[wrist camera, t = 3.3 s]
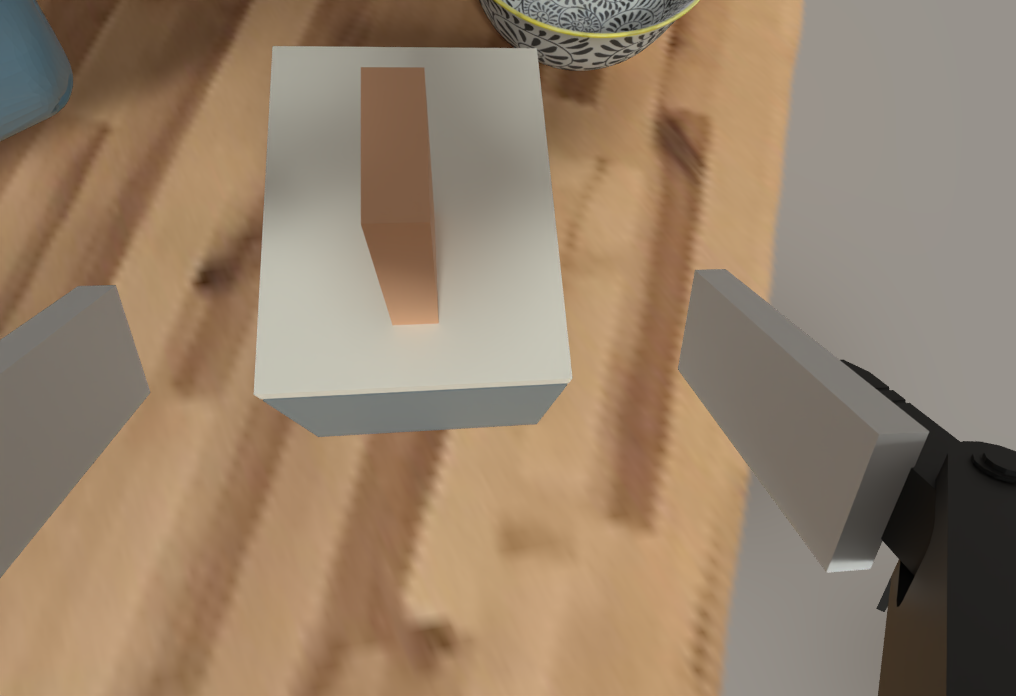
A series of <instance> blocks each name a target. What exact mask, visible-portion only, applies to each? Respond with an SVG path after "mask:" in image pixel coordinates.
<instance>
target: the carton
mask: <svg viewBox="0 0 1016 696" xmlns="http://www.w3.org/2000/svg"><path fill="white" fill-rule="evenodd" d="M566 386H567V383H563V384H544V385H525V386H505V387H486V388H467V389H447V390H428V391H409V392H389V393H370V394H351V395H331V396H312V397H293V398H273V399H263V401H264V402H266V403H267V404H269V405H270V406H272V407H273V408H275V409H276V410H278V411H280V412H281V413H283V414H284V415H286V416H287V417H289V418H290V419H292V420H293V421H295V422H296V423H298V424H299V425H301V426H302V427H304V428H305V429H307V430H309V431H310V432H312V433H313V434H315V435H316V436H318V437H325V436H342V435H359V434H376V433H393V432H410V431H427V430H444V429H461V428H478V427H495V426H512V425H529V424H537V423H538V422H539V420H540V419H541V418H542V416H543V415H544V414H545V413H546V411H547V410H548V409H549V408H550V406H551V405H552V404H553V402H554V401H555V400H556V399H557V397H558V396H559V395H560V394H561V392H562V391H563V390H564V388H565V387H566Z"/></svg>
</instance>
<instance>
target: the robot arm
mask: <svg viewBox="0 0 1016 696" xmlns="http://www.w3.org/2000/svg"><path fill="white" fill-rule="evenodd" d="M72 87H73V74H72V69H71V66H70V63H69V60H68V58H67V56H66V54H65V52H64V50H63V48H62V46H61V44H60V42H59V40H58V39H57V37H56V35H55V33H54V31H53V30H52V28H51V26H50V24H49V22H48V21H47V19H46V17H45V15H44V14H43V12H42V10H41V8H40V7H39V5H38V3H37V1H36V0H0V141H2V140H4V139H6V138H8V137H10V136H13V135H15V134H17V133H19V132H21V131H23V130H25V129H27V128H29V127H31V126H33V125H35V124H37V123H39V122H41V121H44V120H46V119H48V118H50V117H52V116H53V115H55V114H56V113H58V112H59V111H60V110H61V109H62V108H63V107H64V106H65V105H66V103H67V102H68V100H69V98H70V96H71V93H72ZM678 370H679V371H680V373H681V374H682V376H683V377H684V378H685V380H686V381H687V382H688V384H689V385H690V387H691V388H692V389H693V391H694V392H695V393H696V395H697V396H698V397H699V399H700V400H701V402H702V403H703V404H704V406H705V407H706V408H707V410H708V411H709V412H710V414H711V415H712V417H713V418H714V419H715V421H716V422H717V423H718V425H719V426H720V428H721V429H722V430H723V432H724V433H725V434H726V436H727V437H728V438H729V440H730V441H731V443H732V444H733V445H734V447H735V448H736V449H737V451H738V452H739V454H740V455H741V456H742V458H743V459H744V460H745V462H746V463H747V464H748V466H749V467H750V469H751V470H752V471H753V473H754V474H755V475H756V477H757V478H758V479H759V481H760V482H761V484H762V485H763V486H764V488H765V489H766V490H767V492H768V493H769V494H770V496H771V497H772V499H773V500H774V501H775V503H776V504H777V505H778V507H779V508H780V510H781V511H782V512H783V514H784V515H785V516H786V518H787V519H788V520H789V522H790V523H791V525H792V526H793V527H794V529H795V530H796V531H797V533H798V534H799V536H800V537H801V538H802V540H803V541H804V542H805V544H806V545H807V547H808V548H809V549H810V551H811V552H812V553H813V555H814V556H815V557H816V559H817V560H818V561H819V563H820V564H821V566H822V567H823V568H824V570H825V571H826V572H838V571H851V570H863V569H870V568H871V566H872V564H873V562H874V559H875V557H876V555H877V552H878V550H879V548H880V545H881V543H882V541H883V542H884V543H885V544H886V545H887V546H888V547H889V548H890V549H891V550H892V552H893V553H894V554H895V555H896V556H897V557H898V558H899V561H898V563H897V565H896V567H895V569H894V572H893V574H892V576H891V578H890V580H889V583H888V585H887V587H886V589H885V591H884V593H883V596H882V598H881V600H880V602H879V604H878V606H877V609H878V610H881V611H883V612H885V610H886V608H887V607H888V611H887V620H886V629H885V638H884V646H883V647H884V648H883V656H882V665H881V673H880V682H879V691H878V696H1016V451H1013V450H1010V449H1007V448H1005V447H1002V446H999V445H994V444H989V443H984V442H973V441H971V442H970V441H963V442H960V441H958V440H957V439H956V438H955V437H953V436H952V435H951V434H949V433H948V432H947V431H945V430H944V429H943V428H941V427H940V426H939V425H938V424H936V423H935V422H934V421H932V420H931V419H930V418H929V417H927V416H926V415H925V414H923V413H922V412H921V411H919V410H918V409H917V408H915V407H914V406H913V405H911V404H910V403H906V402H905V399H904V398H903V397H901V396H900V395H899V394H897V393H896V392H895V391H893V390H889V387H888V386H887V385H886V384H884V383H883V382H882V381H880V380H879V379H878V378H876V377H875V376H874V375H873V374H871V373H870V372H868V371H866V370H864V369H862V368H860V367H858V366H855V365H853V364H851V363H849V362H847V361H845V360H839V359H838V358H836V357H835V356H834V355H833V354H831V353H830V352H829V351H828V350H826V349H825V348H824V347H823V346H821V345H820V344H819V343H818V342H816V341H815V340H814V339H813V338H811V337H810V336H809V335H807V334H806V333H805V332H804V331H802V330H801V329H800V328H799V327H797V326H796V325H795V324H794V323H792V322H791V321H790V320H789V319H787V318H786V317H785V316H784V315H782V314H781V313H780V312H779V311H777V310H776V309H775V308H774V307H772V306H771V305H770V304H769V303H767V302H766V301H765V300H764V299H762V298H761V297H760V296H759V295H757V294H756V293H755V292H753V291H752V290H751V289H750V288H748V287H747V286H746V285H745V284H743V283H742V282H741V281H740V280H738V279H737V278H736V277H735V276H733V275H732V274H731V273H730V272H728V271H727V270H726V269H714V270H695V273H694V279H693V285H692V291H691V296H690V302H689V308H688V314H687V320H686V325H685V331H684V337H683V343H682V348H681V354H680V360H679V366H678ZM149 394H150V390H149V387H148V384H147V381H146V378H145V374H144V371H143V368H142V365H141V362H140V359H139V356H138V353H137V350H136V347H135V344H134V340H133V337H132V334H131V331H130V328H129V325H128V322H127V319H126V316H125V313H124V309H123V306H122V303H121V300H120V297H119V294H118V291H117V288H116V285H107V286H78V287H76V288H75V289H73V290H72V291H70V292H69V293H68V294H66V295H65V296H63V297H62V298H60V299H59V300H57V301H56V302H55V303H53V304H52V305H50V306H49V307H47V308H46V309H44V310H43V311H41V312H40V313H39V314H37V315H36V316H34V317H33V318H31V319H30V320H28V321H27V322H26V323H24V324H23V325H21V326H20V327H18V328H17V329H15V330H14V331H12V332H11V333H10V334H8V335H7V336H5V337H4V338H2V339H1V340H0V578H1V577H2V575H3V574H4V573H5V572H6V570H7V569H8V568H9V567H10V565H11V564H12V563H13V562H14V560H15V559H16V558H17V557H18V556H19V554H20V553H21V552H22V551H23V549H24V548H25V547H26V546H27V544H28V543H29V542H30V541H31V539H32V538H33V537H34V536H35V535H36V533H37V532H38V531H39V530H40V528H41V527H42V526H43V525H44V523H45V522H46V521H47V520H48V518H49V517H50V516H51V515H52V514H53V512H54V511H55V510H56V509H57V507H58V506H59V505H60V504H61V502H62V501H63V500H64V499H65V497H66V496H67V495H68V494H69V493H70V491H71V490H72V489H73V488H74V486H75V485H76V484H77V483H78V481H79V480H80V479H81V478H82V476H83V475H84V474H85V473H86V472H87V470H88V469H89V468H90V467H91V465H92V464H93V463H94V462H95V460H96V459H97V458H98V457H99V455H100V454H101V453H102V452H103V451H104V449H105V448H106V447H107V446H108V444H109V443H110V442H111V441H112V439H113V438H114V437H115V436H116V434H117V433H118V432H119V431H120V430H121V428H122V427H123V426H124V425H125V423H126V422H127V421H128V420H129V418H130V417H131V416H132V415H133V413H134V412H135V411H136V410H137V409H138V407H139V406H140V405H141V404H142V402H143V401H144V400H145V399H146V397H147V396H148V395H149Z"/></svg>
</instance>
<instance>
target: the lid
mask: <svg viewBox="0 0 1016 696" xmlns="http://www.w3.org/2000/svg"><path fill="white" fill-rule="evenodd" d="M571 380H572V370H571V361H570V352H569V342H568V333H567V324H566V315H565V305H564V296H563V287H562V277H561V268H560V259H559V250H558V240H557V231H556V222H555V212H554V203H553V194H552V185H551V175H550V166H549V157H548V147H547V138H546V129H545V119H544V110H543V101H542V92H541V82H540V73H539V64H538V54H537V48H439V47H320V46H273V49H272V67H271V86H270V104H269V123H268V141H267V160H266V178H265V197H264V215H263V234H262V252H261V271H260V289H259V308H258V326H257V345H256V363H255V382H254V395H255V396H257V397H258V398H260V399H273V398H293V397H312V396H331V395H351V394H370V393H389V392H409V391H428V390H447V389H467V388H486V387H505V386H525V385H544V384H563V383H569V382H570V381H571Z"/></svg>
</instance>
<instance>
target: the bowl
mask: <svg viewBox="0 0 1016 696" xmlns="http://www.w3.org/2000/svg"><path fill="white" fill-rule="evenodd" d="M479 1H480V4H481V6H482V7H483V10H484V12H485V13H486V15H487V17H488V18H489V20H490V21H491V23H492V24H493V26H494V27H495V29H496V30H497V31H498V32H499V33H500V35H501V36H502V37H503V38H504V39H505V40H506V41H507V42H508V43H510V44H511V45H512V46H513V47H514V48H537V54H538V62H540V63H542V64H545V65H548V66H551V67H554V68H558V69H565V70H575V71H586V70H595V69H600V68H605V67H609V66H612V65H615V64H618V63H621V62H623V61H626V60H627V59H629V58H631V57H633V56H635V55H636V54H638V53H640V52H641V51H643V50H644V49H645V48H647V47H648V46H649V45H650V44H652V43H653V42H654V41H655V40H656V39H657V38H658V37H660V36H661V35H662V34H663V33H664V32H665V31H666V30H667V29H668V28H669V27H670V25H672V24H673V23H674V22H675V21H676V20H677V19H678V18H680V17H681V16H683V15H684V14H686V13H687V12H688V11H690V10H691V9H692V8H693V7H694V6H695V5H696V4H697V3H698V2H699V1H700V0H479Z"/></svg>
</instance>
